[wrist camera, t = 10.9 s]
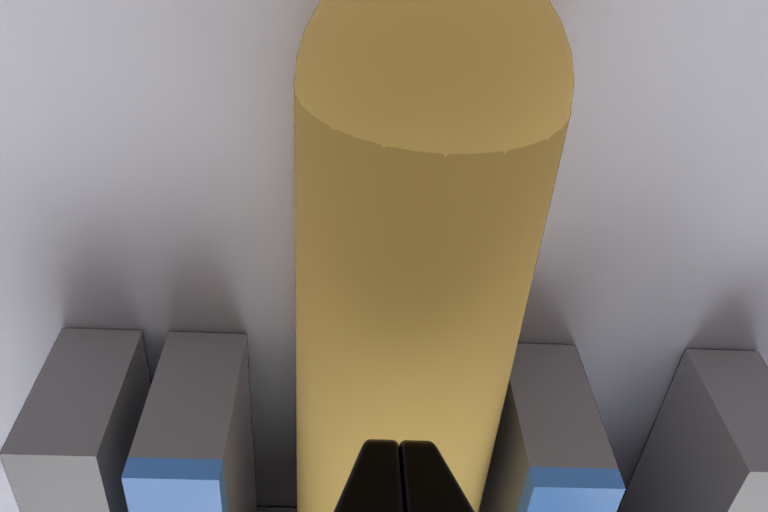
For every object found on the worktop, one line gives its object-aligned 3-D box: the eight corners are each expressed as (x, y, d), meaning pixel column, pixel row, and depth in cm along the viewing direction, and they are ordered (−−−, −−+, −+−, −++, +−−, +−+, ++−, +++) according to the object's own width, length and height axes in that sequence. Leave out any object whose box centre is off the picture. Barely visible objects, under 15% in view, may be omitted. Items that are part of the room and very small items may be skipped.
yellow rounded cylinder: (437, 478, 18) (486, 623, 15) (287, 500, 17) (310, 658, 14) (532, -86, 10) (666, -11, 8) (275, -92, 10) (318, -12, 7)
